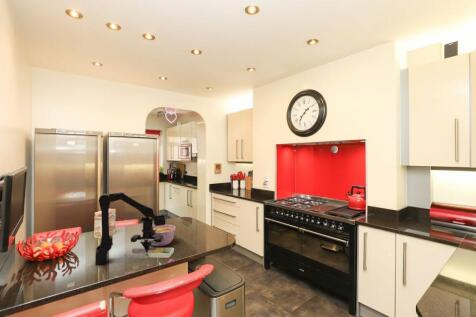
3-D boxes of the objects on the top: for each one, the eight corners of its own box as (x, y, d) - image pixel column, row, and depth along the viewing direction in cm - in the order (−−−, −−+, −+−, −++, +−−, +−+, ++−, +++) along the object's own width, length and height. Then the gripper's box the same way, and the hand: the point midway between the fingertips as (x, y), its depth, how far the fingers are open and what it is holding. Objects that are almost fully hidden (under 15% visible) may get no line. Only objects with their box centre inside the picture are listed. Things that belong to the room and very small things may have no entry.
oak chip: (154, 255, 140) (154, 250, 140) (147, 255, 140) (147, 250, 140) (156, 253, 144) (156, 248, 144) (150, 252, 144) (150, 248, 144)
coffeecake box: (102, 239, 171) (102, 212, 172) (93, 238, 173) (94, 212, 173) (115, 232, 186) (116, 208, 186) (107, 232, 187) (108, 208, 187)
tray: (169, 259, 138) (169, 253, 138) (148, 258, 138) (148, 253, 138) (174, 253, 147) (174, 247, 147) (153, 252, 147) (153, 247, 147)
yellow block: (160, 255, 140) (160, 250, 140) (154, 255, 140) (154, 250, 141) (163, 253, 144) (163, 248, 144) (156, 253, 144) (156, 248, 145)
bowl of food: (180, 241, 168) (180, 225, 168) (165, 252, 149) (165, 234, 149) (157, 238, 173) (157, 223, 173) (138, 248, 154) (139, 231, 154)
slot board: (147, 259, 137) (147, 255, 137) (124, 259, 137) (124, 255, 137) (154, 252, 148) (154, 248, 148) (132, 251, 148) (133, 248, 148)
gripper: (166, 223, 151) (166, 247, 151) (138, 223, 151) (138, 247, 151) (160, 228, 139) (160, 254, 139) (130, 228, 140) (129, 254, 139)
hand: (147, 252), depth 143 cm, fingers closed
